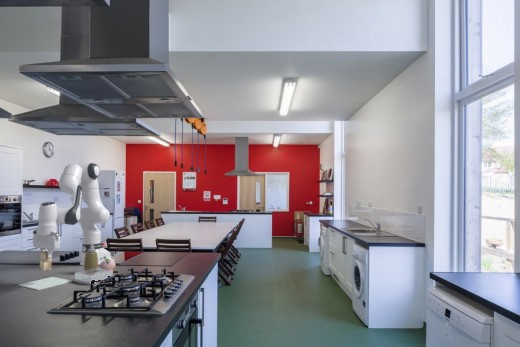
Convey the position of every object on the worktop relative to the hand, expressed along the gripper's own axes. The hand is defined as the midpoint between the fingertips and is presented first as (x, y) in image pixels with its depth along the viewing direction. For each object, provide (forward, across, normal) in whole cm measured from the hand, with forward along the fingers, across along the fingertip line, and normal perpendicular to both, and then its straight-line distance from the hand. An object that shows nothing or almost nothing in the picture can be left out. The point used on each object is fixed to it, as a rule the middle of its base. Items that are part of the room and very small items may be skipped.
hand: (46, 256), depth 185 cm
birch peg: (+7, 0, 0) cm, 7 cm away
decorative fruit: (+14, -12, -30) cm, 36 cm away
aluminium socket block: (+14, -17, -18) cm, 28 cm away
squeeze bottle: (+14, +1, -28) cm, 32 cm away
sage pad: (+15, 0, 0) cm, 15 cm away
